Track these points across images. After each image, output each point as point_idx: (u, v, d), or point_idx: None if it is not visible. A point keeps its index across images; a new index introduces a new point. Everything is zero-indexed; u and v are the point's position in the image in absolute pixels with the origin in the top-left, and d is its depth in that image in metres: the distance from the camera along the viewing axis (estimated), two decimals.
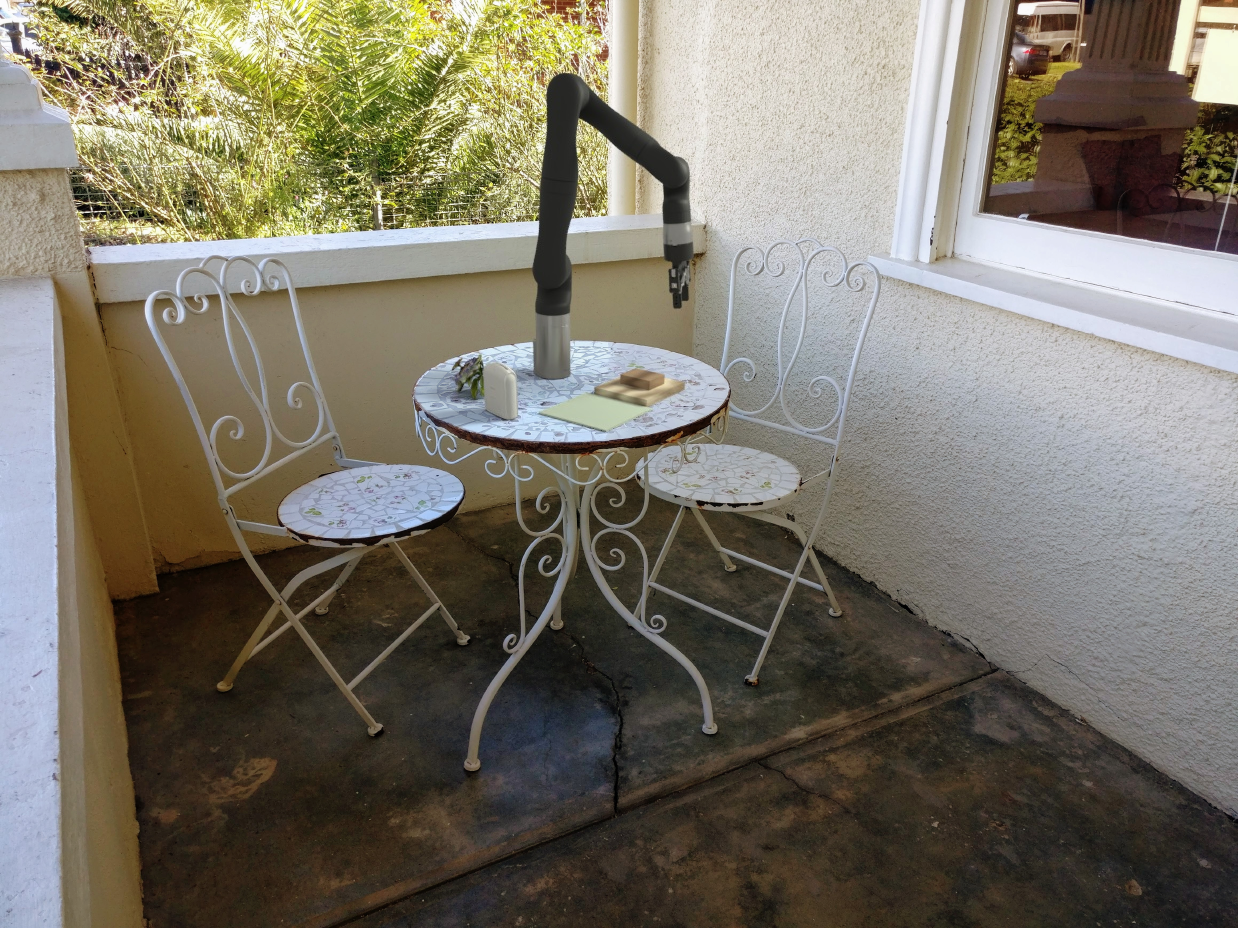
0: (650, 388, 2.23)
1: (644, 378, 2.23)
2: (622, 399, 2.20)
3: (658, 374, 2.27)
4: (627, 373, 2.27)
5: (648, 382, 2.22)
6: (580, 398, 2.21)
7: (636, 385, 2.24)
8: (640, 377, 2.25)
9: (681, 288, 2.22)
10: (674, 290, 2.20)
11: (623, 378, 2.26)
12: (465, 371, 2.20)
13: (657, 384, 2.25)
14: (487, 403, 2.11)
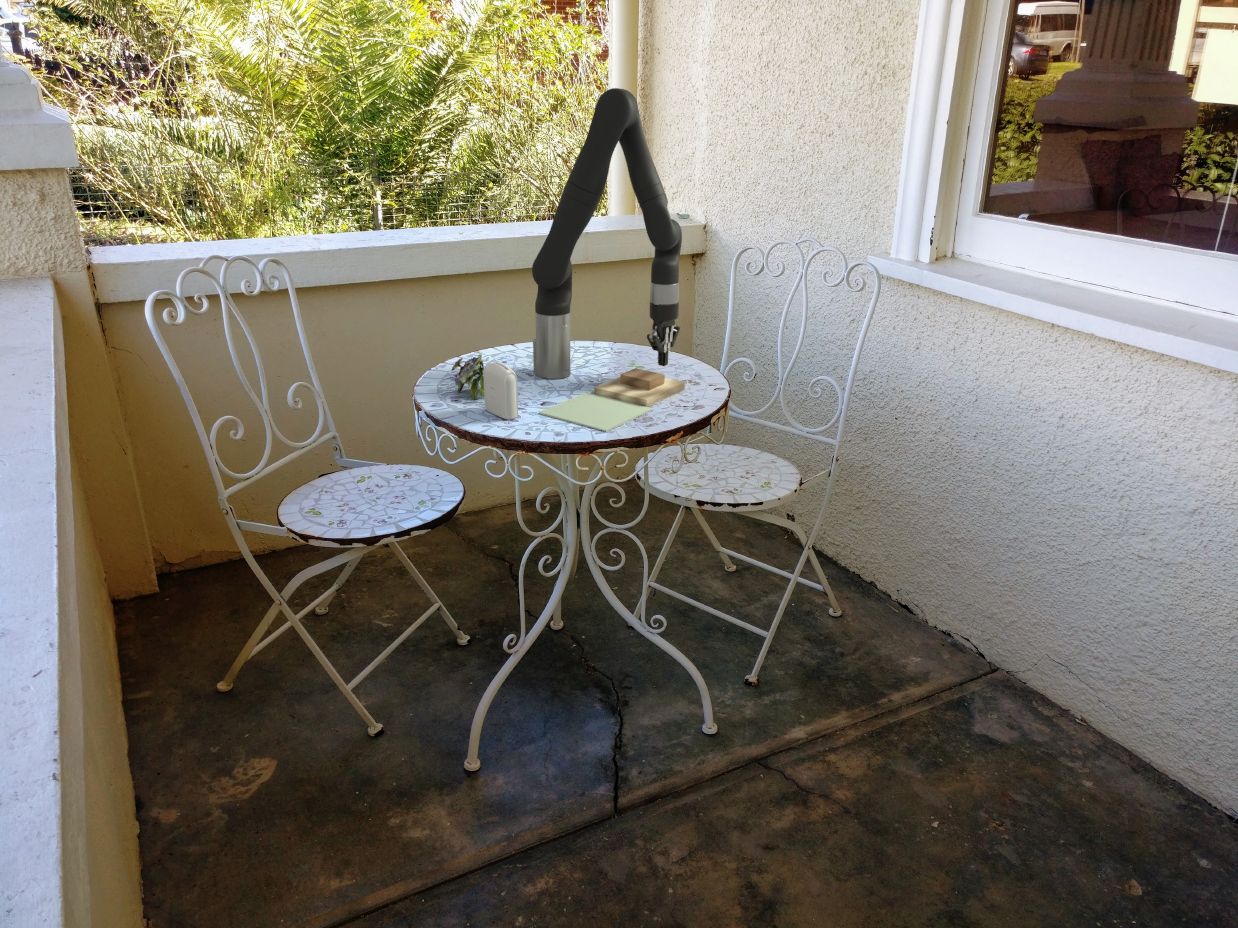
0: (650, 388, 2.23)
1: (644, 378, 2.23)
2: (622, 399, 2.20)
3: (658, 374, 2.27)
4: (627, 373, 2.27)
5: (648, 382, 2.22)
6: (580, 398, 2.21)
7: (636, 385, 2.24)
8: (640, 377, 2.25)
9: (665, 346, 2.30)
10: (656, 348, 2.29)
11: (623, 378, 2.26)
12: (465, 371, 2.20)
13: (657, 384, 2.25)
14: (487, 403, 2.11)
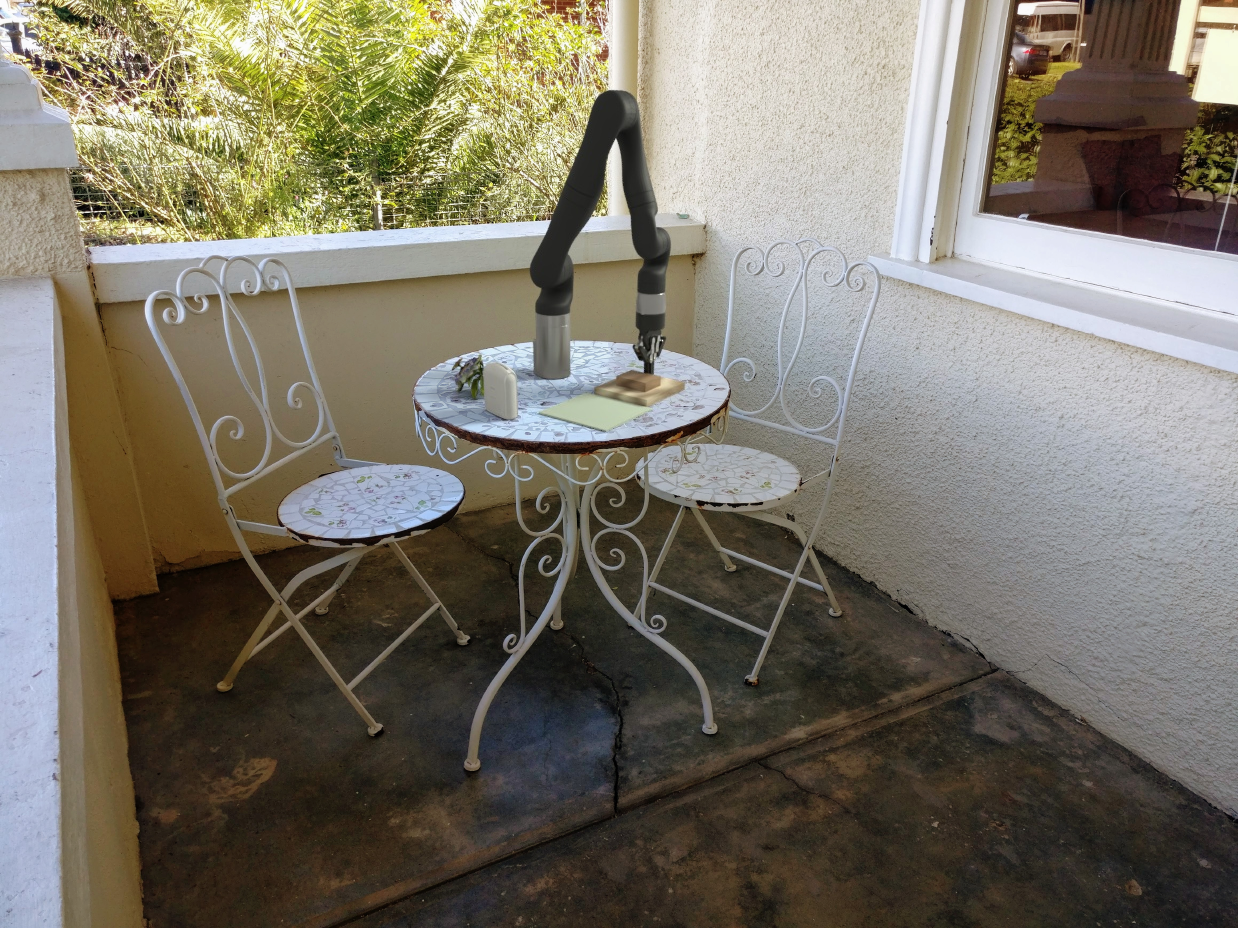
0: (646, 390, 2.21)
1: (640, 380, 2.22)
2: (622, 399, 2.20)
3: (654, 376, 2.25)
4: (623, 375, 2.26)
5: (644, 384, 2.21)
6: (580, 398, 2.21)
7: (632, 387, 2.23)
8: (636, 378, 2.23)
9: (651, 357, 2.26)
10: (642, 359, 2.25)
11: (619, 379, 2.25)
12: (465, 371, 2.20)
13: (653, 386, 2.24)
14: (487, 403, 2.11)
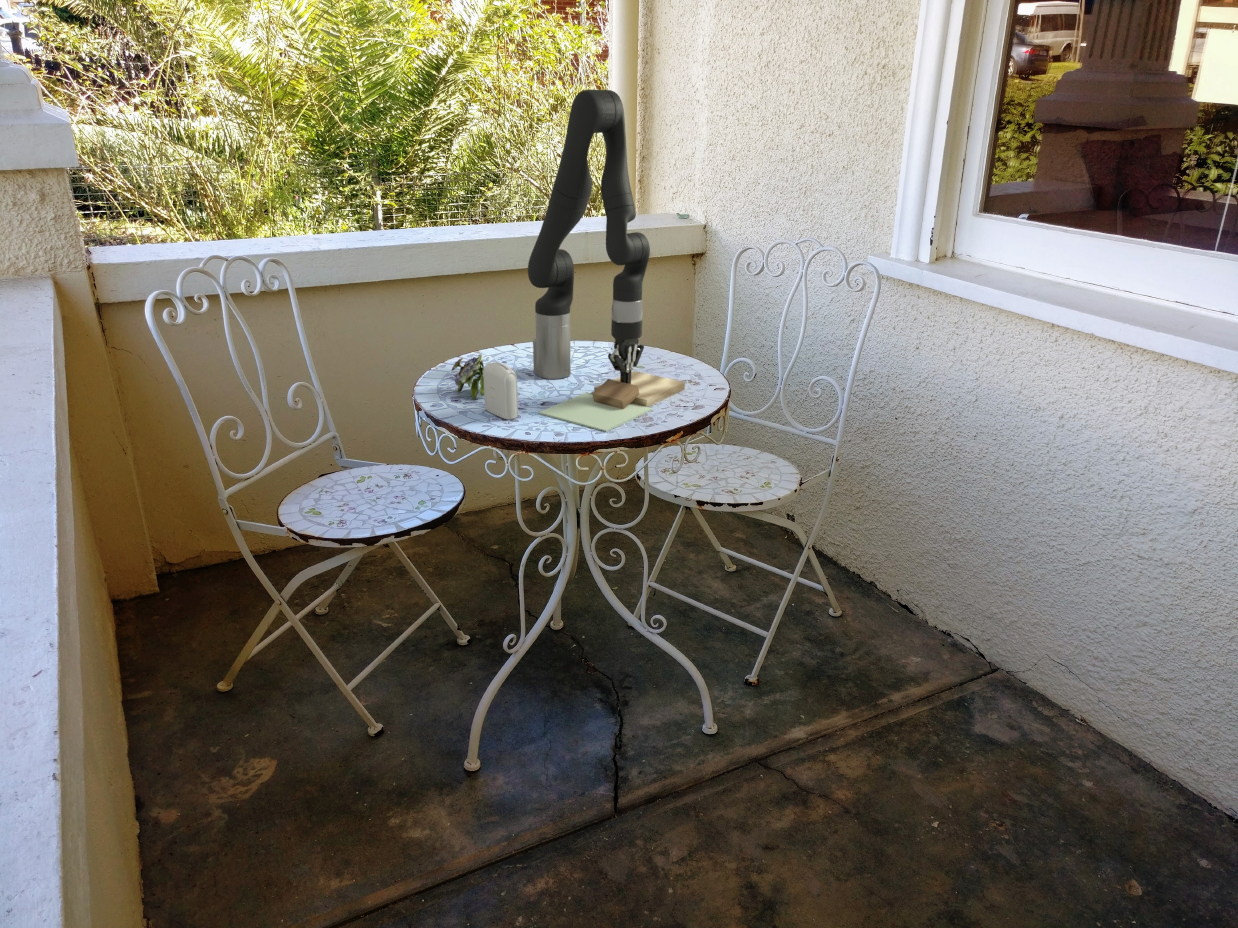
0: (624, 406, 2.14)
1: (616, 397, 2.14)
2: None
3: (631, 386, 2.17)
4: (599, 390, 2.18)
5: (621, 401, 2.13)
6: (580, 398, 2.21)
7: (610, 404, 2.16)
8: (613, 394, 2.15)
9: (628, 366, 2.18)
10: (618, 368, 2.17)
11: (596, 396, 2.17)
12: (465, 371, 2.20)
13: (631, 398, 2.16)
14: (487, 403, 2.11)
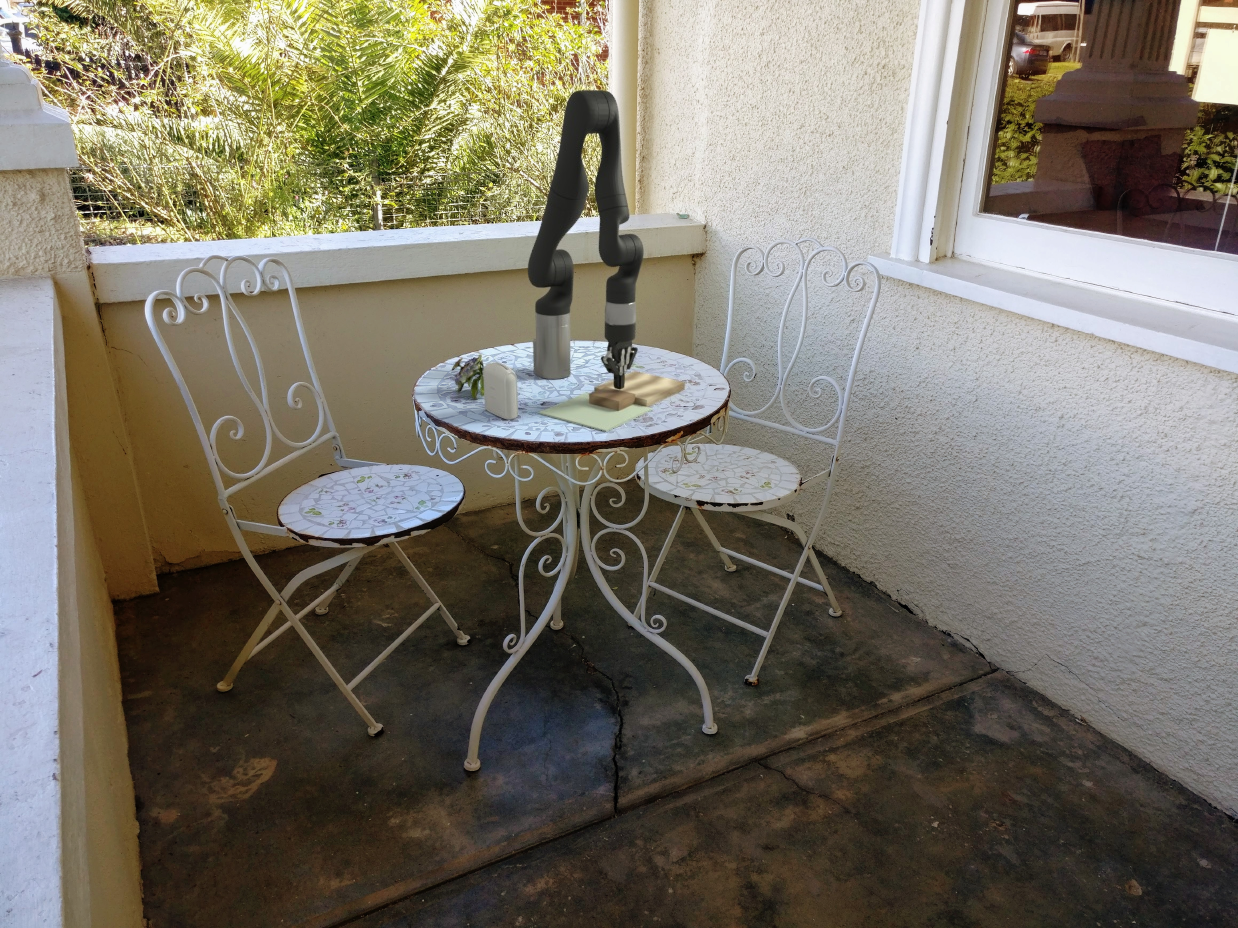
0: (619, 408, 2.13)
1: (613, 398, 2.13)
2: None
3: (628, 393, 2.17)
4: (596, 392, 2.17)
5: (617, 402, 2.12)
6: (580, 398, 2.21)
7: (605, 405, 2.15)
8: (610, 396, 2.15)
9: (621, 369, 2.16)
10: (611, 371, 2.15)
11: (592, 397, 2.16)
12: (465, 371, 2.20)
13: (627, 404, 2.15)
14: (487, 403, 2.11)
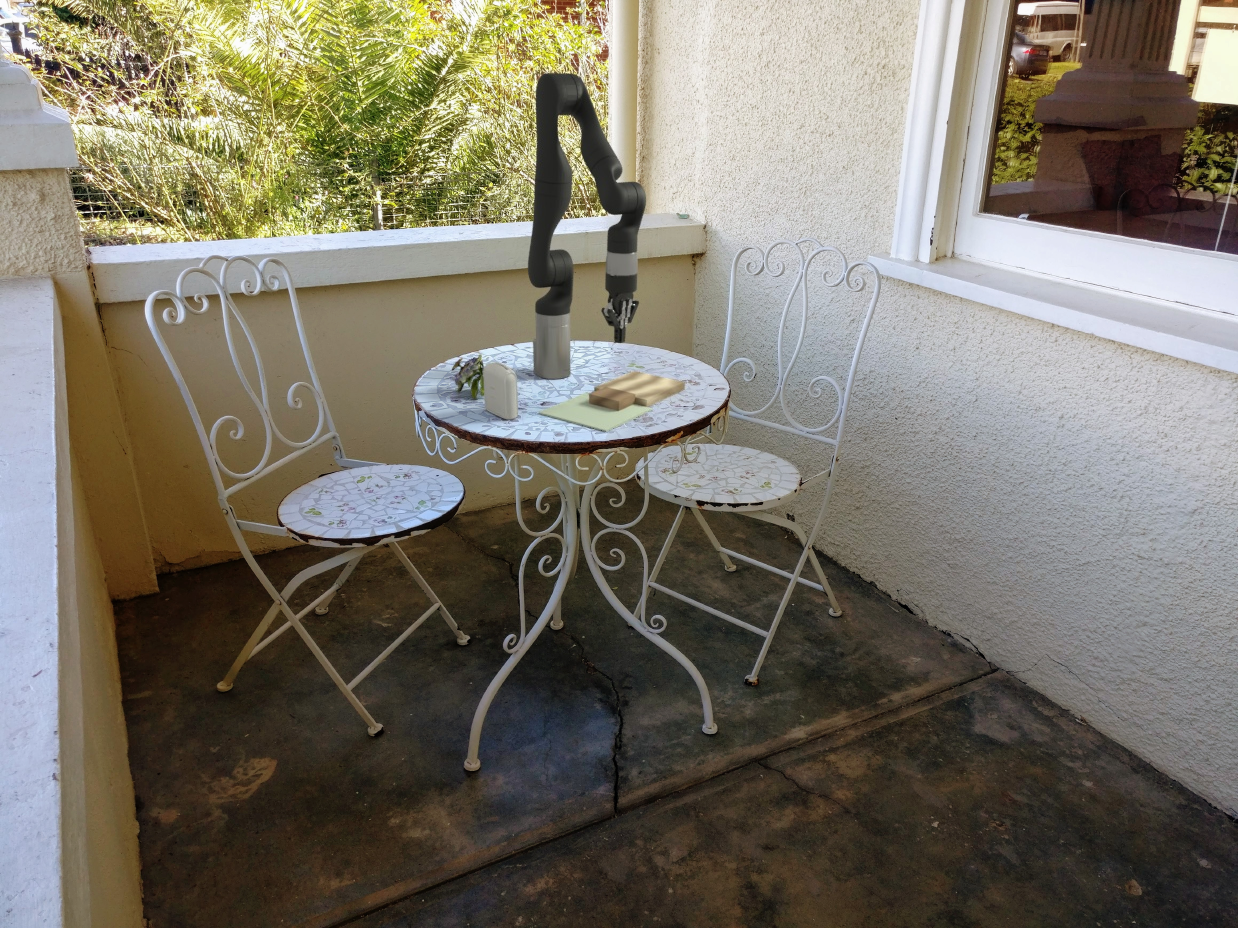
0: (619, 408, 2.13)
1: (613, 398, 2.13)
2: None
3: (628, 393, 2.17)
4: (596, 392, 2.17)
5: (617, 402, 2.12)
6: (580, 398, 2.21)
7: (605, 405, 2.15)
8: (610, 396, 2.15)
9: (622, 322, 2.11)
10: (612, 324, 2.10)
11: (592, 397, 2.16)
12: (465, 371, 2.20)
13: (627, 404, 2.15)
14: (487, 403, 2.11)
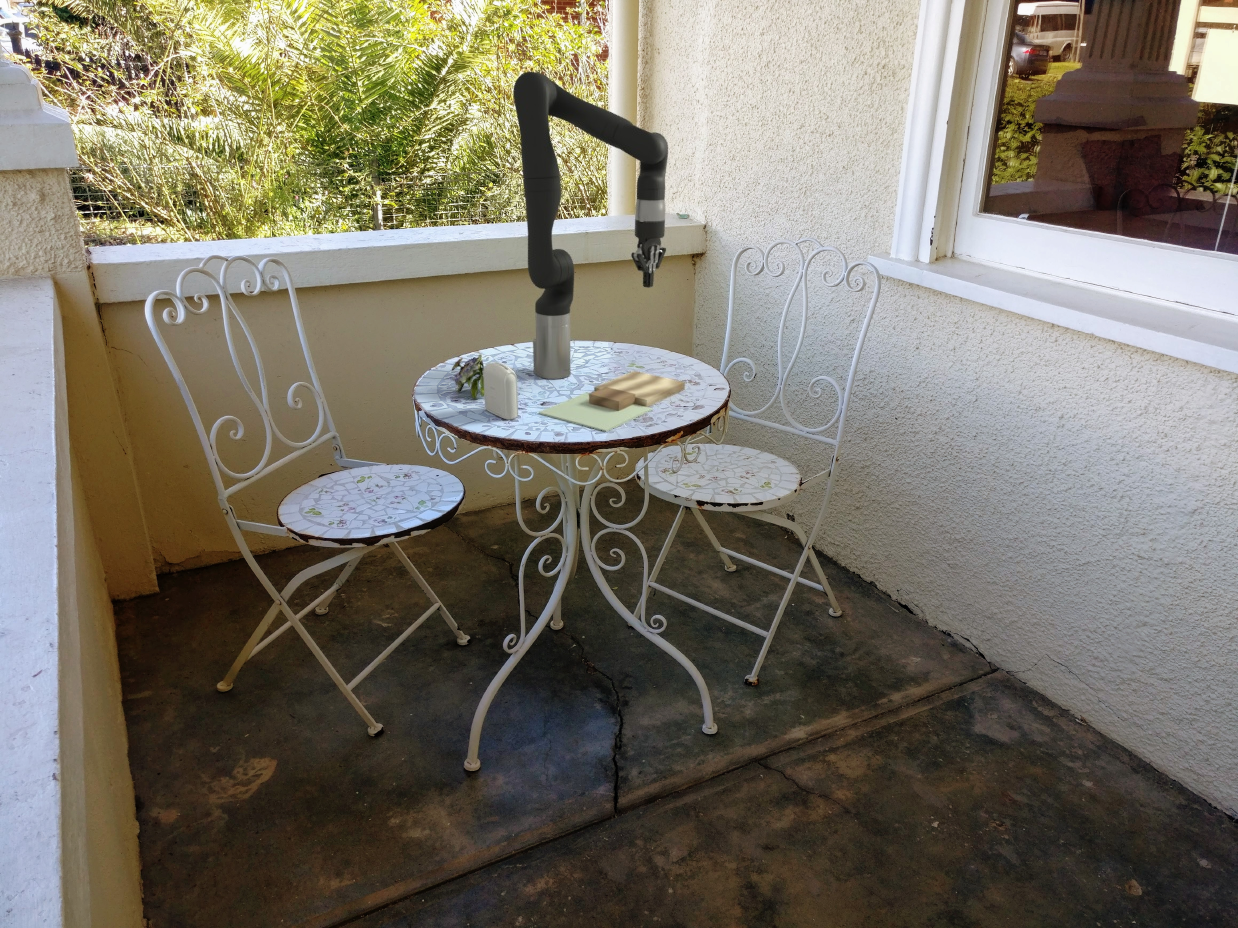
0: (619, 408, 2.13)
1: (613, 398, 2.13)
2: None
3: (628, 393, 2.17)
4: (596, 392, 2.17)
5: (617, 402, 2.12)
6: (580, 398, 2.21)
7: (605, 405, 2.15)
8: (610, 396, 2.15)
9: (651, 267, 2.25)
10: (641, 268, 2.23)
11: (592, 397, 2.16)
12: (465, 371, 2.20)
13: (627, 404, 2.15)
14: (487, 403, 2.11)
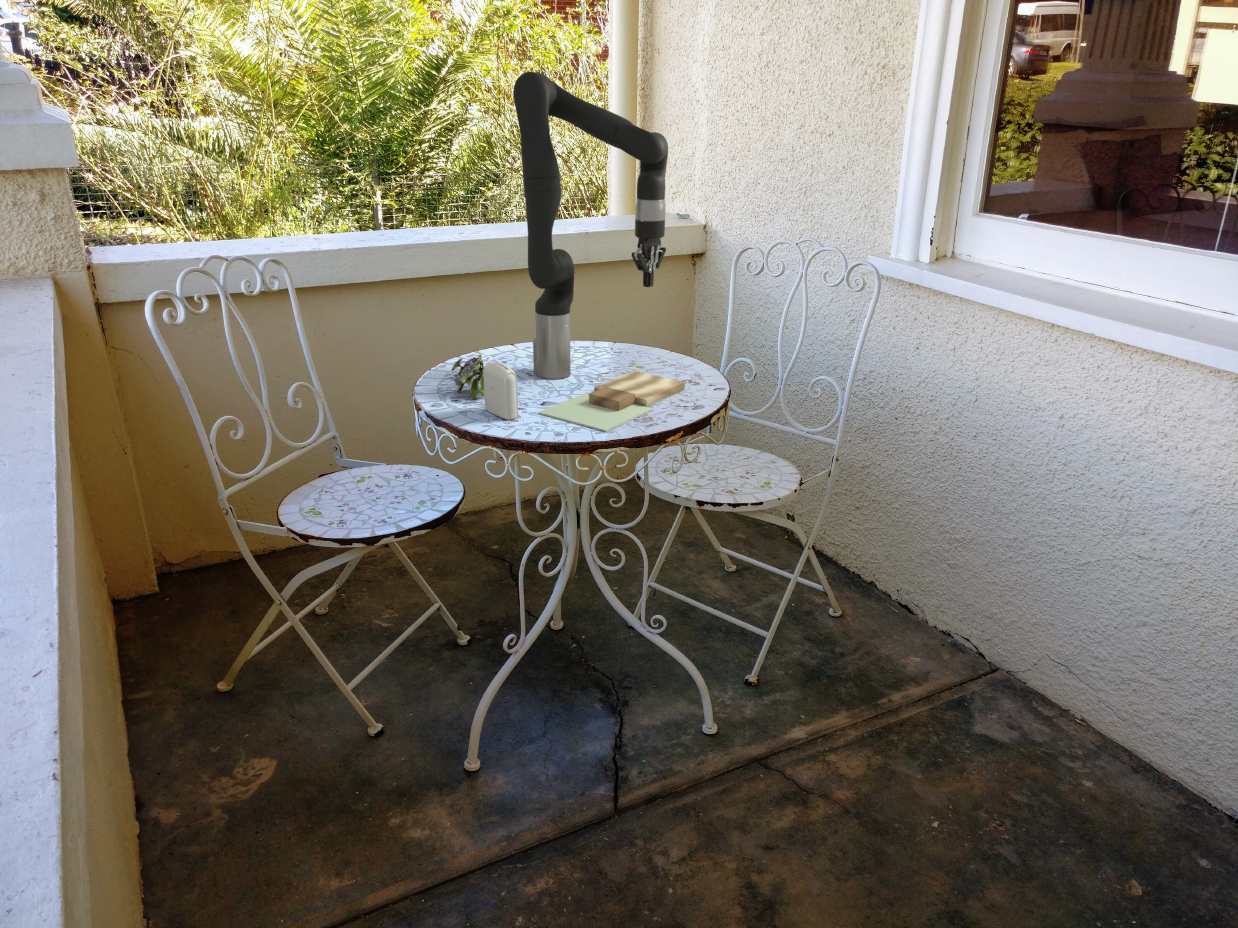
0: (619, 408, 2.13)
1: (613, 398, 2.13)
2: None
3: (628, 393, 2.17)
4: (596, 392, 2.17)
5: (617, 402, 2.12)
6: (580, 398, 2.21)
7: (605, 405, 2.15)
8: (610, 396, 2.15)
9: (651, 267, 2.25)
10: (641, 268, 2.24)
11: (592, 397, 2.16)
12: (465, 371, 2.20)
13: (627, 404, 2.15)
14: (487, 403, 2.11)
